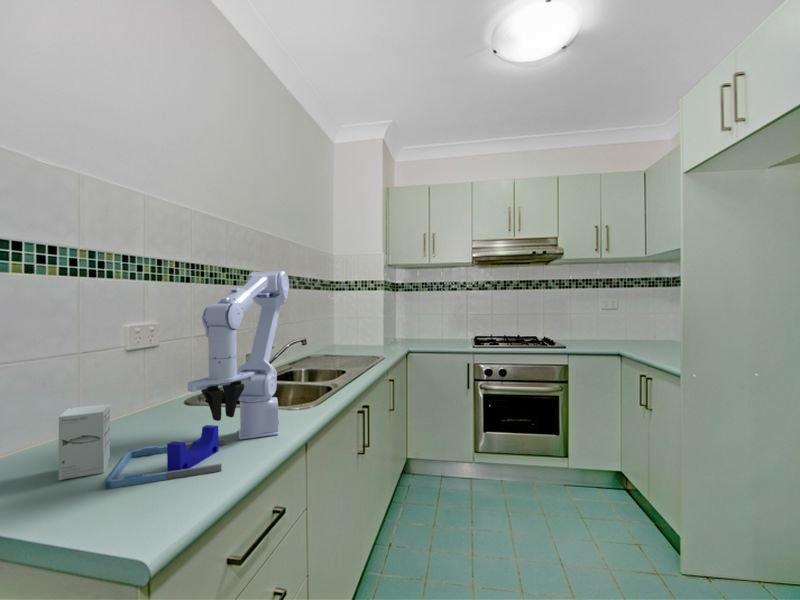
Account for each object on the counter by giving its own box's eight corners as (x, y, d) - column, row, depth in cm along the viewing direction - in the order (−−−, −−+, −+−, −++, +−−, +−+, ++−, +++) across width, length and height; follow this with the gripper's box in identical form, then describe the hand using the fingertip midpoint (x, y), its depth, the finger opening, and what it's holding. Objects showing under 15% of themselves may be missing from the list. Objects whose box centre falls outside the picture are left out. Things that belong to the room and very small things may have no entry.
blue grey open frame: (224, 443, 96) (224, 436, 96) (221, 470, 80) (221, 462, 80) (128, 456, 88) (128, 448, 88) (105, 489, 73) (104, 480, 73)
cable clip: (201, 450, 92) (200, 424, 92) (218, 451, 91) (218, 425, 91) (161, 473, 80) (160, 443, 80) (180, 474, 79) (180, 444, 79)
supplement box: (57, 482, 76) (56, 416, 76) (68, 467, 83) (67, 407, 83) (104, 473, 80) (103, 411, 80) (111, 460, 86) (110, 402, 86)
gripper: (242, 352, 96) (242, 407, 96) (180, 359, 85) (181, 423, 85) (259, 354, 92) (260, 412, 92) (196, 362, 80) (197, 429, 80)
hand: (223, 418), depth 88 cm, fingers closed
